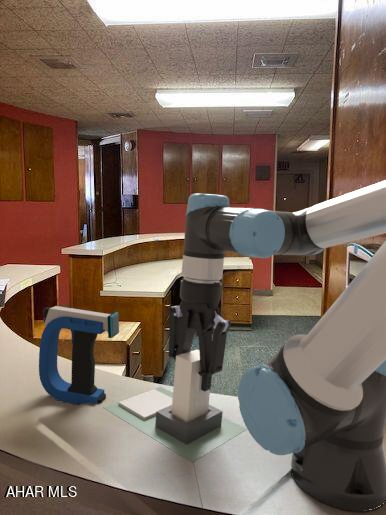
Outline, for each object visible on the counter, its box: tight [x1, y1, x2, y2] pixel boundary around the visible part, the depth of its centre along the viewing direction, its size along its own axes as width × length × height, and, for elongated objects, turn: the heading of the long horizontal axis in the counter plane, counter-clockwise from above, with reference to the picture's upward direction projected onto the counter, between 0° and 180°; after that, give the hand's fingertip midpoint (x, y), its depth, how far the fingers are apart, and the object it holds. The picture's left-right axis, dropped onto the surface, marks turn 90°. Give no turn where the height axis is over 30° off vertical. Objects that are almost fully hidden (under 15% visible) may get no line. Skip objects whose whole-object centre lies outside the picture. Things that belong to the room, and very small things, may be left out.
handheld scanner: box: [38, 305, 120, 406], centre depth 87 cm, size 5×16×20 cm, turn 79°
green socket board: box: [103, 386, 248, 463], centre depth 82 cm, size 24×16×4 cm, turn 48°
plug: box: [171, 348, 211, 423], centre depth 78 cm, size 4×6×14 cm, turn 138°
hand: (190, 400), depth 79 cm, fingers closed on plug, 4 cm apart
